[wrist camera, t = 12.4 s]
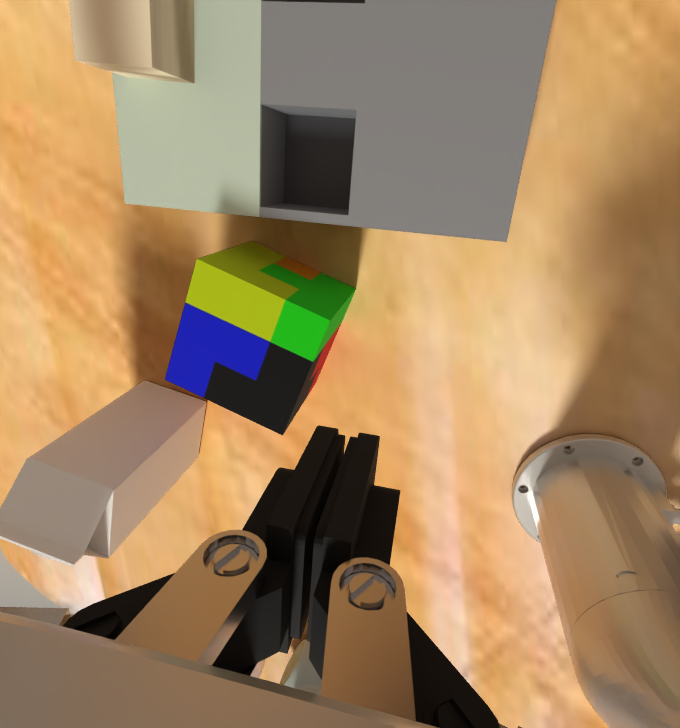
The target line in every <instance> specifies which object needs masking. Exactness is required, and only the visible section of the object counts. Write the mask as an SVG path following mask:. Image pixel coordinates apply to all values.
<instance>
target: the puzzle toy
mask: <svg viewBox="0 0 680 728" xmlns="http://www.w3.org/2000/svg"><path fill="white" fill-rule="evenodd" d="M355 290H356V289H355V288H353V287H351V286H349V285H347V284H345V283H342V282H340V281H338V280H336V279H334V278H331V277H329V276H327V275H325V274H323V273H321V272H318V271H316V270H314V269H312V268H310V267H307V266H305V265H303V264H301V263H299V262H297V261H294V260H292V259H290V258H288V257H286V256H283V255H281V254H279V253H277V252H275V251H273V250H270V249H268V248H266V247H264V246H262V245H259V244H257V243H255V242H253V241H250V242H247V243H244V244H241V245H238V246H235V247H232V248H229V249H226V250H222V251H219V252H216V253H213V254H210V255H207V256H204V257H201V258H198V259H197V260H196V264H195V268H194V271H193V275H192V279H191V283H190V286H189V290H188V294H187V298H186V302H185V305H184V309H183V313H182V317H181V320H180V324H179V328H178V332H177V336H176V339H175V343H174V347H173V351H172V354H171V358H170V362H169V366H168V370H167V373H166V377H165V380H167V381H169V382H171V383H173V384H175V385H177V386H180V387H182V388H184V389H186V390H188V391H190V392H192V393H194V394H196V395H199V396H201V397H203V398H205V399H207V400H209V401H211V402H213V403H215V404H218V405H220V406H222V407H224V408H226V409H228V410H230V411H232V412H234V413H237V414H239V415H241V416H243V417H245V418H247V419H249V420H251V421H253V422H256V423H258V424H260V425H262V426H264V427H266V428H268V429H270V430H272V431H275V432H277V433H279V434H281V435H283V434H284V432H285V431H286V429H287V428H288V426H289V424H290V423H291V421H292V420H293V418H294V416H295V415H296V413H297V412H298V410H299V409H300V407H301V405H302V404H303V402H304V401H305V399H306V397H307V396H308V394H309V393H310V391H311V390H312V388H313V386H314V385H315V383H316V381H317V379H318V376H319V374H320V372H321V369H322V367H323V365H324V362H325V360H326V358H327V355H328V353H329V351H330V348H331V346H332V344H333V341H334V339H335V337H336V334H337V332H338V330H339V327H340V325H341V323H342V320H343V318H344V316H345V313H346V311H347V309H348V306H349V304H350V302H351V299H352V297H353V295H354V292H355Z"/></svg>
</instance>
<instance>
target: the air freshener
mask: <svg viewBox="0 0 680 728" xmlns="http://www.w3.org/2000/svg"><path fill="white" fill-rule="evenodd" d="M309 650H310V642H308V641H307V639H305V640H303V641H302V642H301V643H300V644H299V645H298V647H297V648H296V650H295V652H294V653H293V655H292V657H291V659H290V660H289V662H288V665H287V667H286V669H285V671H284V673H283V676H282V679H281V682H280V684H281V685H285V686H289V687H292V688H296V689H300V690H303V691H307V692H311V693H314V694H318V695H321V686H322V680H321V678H320V677H319V675H318V673H317V672H316V670H315V668H314V667H313V665H312V663H311V662H310V660H309Z"/></svg>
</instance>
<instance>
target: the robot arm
mask: <svg viewBox="0 0 680 728" xmlns="http://www.w3.org/2000/svg"><path fill="white" fill-rule="evenodd" d="M379 439H380V436H377V435H371V434H365V433H359V435H358V438H356V437H350V439H349V442H348V445H347V447H346V450H345V453H344V445H345V435H339V434H338V429H336V428H330V427H324V426H317V427H316V429H315V431H314V433H313V435H312V437H311V439H310V441H309V443H308V445H307V447H306V449H305V451H304V453H303V454H302V456H301V458H300V460H299V462H298V464H297V466H296V468H295V470H291V469H285V468H278V470H277V471H276V472H275V474H274V476H273V478H272V479H271V481H270V483H269V484H268V486H267V488H266V490H265V491H264V493H263V495H262V497H261V498H260V500H259V502H258V503H257V505H256V507H255V509H254V510H253V512H252V514H251V516H250V517H249V519H248V521H247V522H246V524H245V526H244V528H243V529H242V530H228V531H224V532H220V533H217V534H215V535H213V536H211V537H209V538H208V539H207V540H206V541H205V542H203V543H202V544H201V545H200V546H199V548H198V549H197V550H196V551H195V552H194V553H193V554H192V555H191V556H190V557H189V559H188V560H187V561H186V562H185V563H184V564H183V565H182V566H181V567H180V569H179V570H178V571H177V572H176V573H173V574H171V575H168V576H166V577H163V578H160V579H158V580H155V581H152V582H150V583H147V584H144V585H142V586H139V587H137V588H134V589H131V590H129V591H126V592H123V593H121V594H118V595H115V596H113V597H110V598H107V599H105V600H102V601H100V602H97V603H94V604H92V605H90V606H88V607H86V608H84V609H82V610H80V611H78V612H77V613H76V614H74V615H70V612H69V608H27V607H26V608H25V607H0V728H507V727H505V726H503V725H501V724H499V723H498V720H497V718H496V717H495V715H494V714H493V712H492V711H491V710H490V708H489V707H488V705H487V704H486V703H485V702H484V701H483V699H482V698H481V697H480V696H479V695H478V694H477V693H476V691H475V690H474V689H473V688H472V687H471V686H470V684H469V683H468V682H467V681H466V680H465V679H464V677H463V676H462V675H461V674H460V673H459V672H458V670H457V669H456V668H455V667H454V666H453V665H452V664H451V662H450V661H449V660H448V659H447V658H446V657H445V655H444V654H443V653H442V652H441V651H440V650H439V648H438V647H437V646H436V645H435V644H434V643H433V641H432V640H431V639H430V638H429V637H428V636H427V635H426V633H425V632H424V631H423V630H422V629H421V628H420V626H419V625H418V624H417V623H416V622H415V621H414V619H413V618H412V617H411V616H410V615H409V614H408V612H407V611H406V599H405V589H404V585H403V581H402V579H401V577H400V576H399V574H398V573H397V571H395V570H394V569H393V568H392V567H391V566H389V565H390V558H391V551H392V544H393V537H394V531H395V524H396V517H397V510H398V503H399V496H400V490H396V489H391V488H385V487H380V486H375V485H374V480H375V472H376V464H377V456H378V448H379ZM566 446H568V447H566ZM512 501H513V507H514V510H515V514H516V517H517V519H518V520H519V522H520V524H521V526H522V527H523V528H524V529H525V531H526V532H527V533H528V534H529V535H530V536H531V537H532V538H534V539H535V540H536V541H537V542H539V543H541V546H542V550H543V554H544V558H545V561H546V565H547V569H548V573H549V577H550V581H551V584H552V588H553V592H554V596H555V600H556V604H557V607H558V611H559V615H560V619H561V623H562V627H563V630H564V634H565V638H566V642H567V646H568V649H569V653H570V656H571V660H572V664H573V667H574V671H575V674H576V677H577V680H578V683H579V685H580V687H581V689H582V691H583V693H584V695H585V697H586V698H587V700H588V701H589V703H590V704H591V706H592V707H593V709H594V710H595V712H596V713H597V714H598V715H599V717H600V718H601V719H602V720H603V721H604V722H605V723H606V724H607V725H608V726H609V727H610V728H680V532H679V531H675V529H674V528H673V526H672V525H673V524H674V523H675V524H680V509H677V508H675V507H674V506H673V505H672V504H670V503H669V501H668V500H667V487H666V484H665V481H664V477H663V476H662V474H661V472H660V471H659V469H658V467H657V466H656V465H655V463H654V462H653V461H652V460H651V458H650V457H649V456H648V455H647V454H645V453H644V452H643V451H642V450H641V449H639V448H638V447H636V446H634V445H632V444H631V443H629V442H627V441H624V440H621V439H618V438H615V437H612V436H606V435H600V434H579V435H572V436H567V437H563V438H560V439H557V440H554V441H552V442H550V443H548V444H546V445H544V446H542V447H540V448H539V449H537V450H536V451H535V452H533V453H532V454H531V455H530V456H529V457H528V458H527V459H526V460H525V461H524V462H523V463H522V464H521V466H520V468H519V469H518V471H517V473H516V475H515V478H514V481H513V484H512ZM308 615H309V619H308V634H307V641H308V642H310V650H309V660H310V662H311V663H312V665H313V667H314V668H315V670H316V672H317V673H318V675H319V677H320V678H321V680H322V686H321V695H318V694H314V693H311V692H307V691H303V690H300V689H296V688H292V687H289V686H285V685H281V684H277V683H274V682H270V681H266V680H263V679H259V677H260V675H261V673H262V670H263V667H264V663H265V659H266V658H268V657H270V656H272V655H274V654H275V653H277V652H283V653H288V650H289V647H290V644H291V641H292V638H296V639H301V637H302V634H303V631H304V628H305V625H306V622H307V618H308ZM518 728H522V727H520V726H518Z"/></svg>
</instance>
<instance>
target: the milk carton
mask: <svg viewBox="0 0 680 728" xmlns="http://www.w3.org/2000/svg"><path fill="white" fill-rule="evenodd" d="M206 404H207V403H206V401H203V400H201V399H198V398H195V397H192V396H189V395H186V394H183V393H180V392H177V391H174V390H172V389H169V388H166V387H163V386H160V385H157V384H154V383H151V382H148V381H143V382H141V383H140V384H138V385H137V386H135V387H134V388H132V389H131V390H129V391H128V392H126V393H125V394H123V395H122V396H120V397H119V398H117V399H116V400H114V401H113V402H111V403H110V404H108V405H107V406H105V407H104V408H102V409H101V410H99V411H98V412H96V413H95V414H93V415H92V416H90V417H89V418H87V419H86V420H84V421H83V422H82V423H80V424H79V425H77V426H76V427H74V428H73V429H71V430H70V431H68V432H67V433H65V434H64V435H62V436H61V437H59V438H58V439H56V440H55V441H53V442H52V443H50V444H49V445H47V446H46V447H44V448H43V449H41V450H40V451H38V452H37V453H35V454H34V455H32V456H31V457H29V458H27V460H26V462H25V463H24V465H23V467H22V469H21V471H20V473H19V475H18V476H17V478H16V480H15V482H14V484H13V486H12V488H11V489H10V491H9V493H8V495H7V497H6V499H5V501H4V503H3V504H2V506H1V508H0V538H1V539H3V540H6V541H8V542H11V543H14V544H16V545H19V546H21V547H24V548H26V549H29V550H31V551H32V552H33V553H35V554H37V555H39V556H42V557H45V558H48V559H51V560H55V561H60V562H62V563H65V564H68V565H70V566H73V565H74V564H75V563H76V562H77V561H78V560H79V559H80V558H81V557H82V556H83V555H88V556H95V557H102V558H109V557H110V556H111V555H112V554H113V553H114V551H115V550H116V549H117V548H118V547H119V546H120V545H121V544H122V543H123V541H124V540H125V539H126V538H127V537H128V536H129V535H130V533H131V532H132V531H133V530H134V529H135V528H136V527H137V526H138V524H139V523H140V522H141V521H142V520H143V519H144V518H145V517H146V515H147V514H148V513H149V512H150V511H151V510H152V509H153V508H154V506H155V505H156V504H157V503H158V502H159V501H160V500H161V499H162V497H163V496H164V495H165V494H166V493H167V492H168V491H169V490H170V488H171V487H172V486H173V485H174V484H175V483H176V482H177V481H178V479H179V478H180V477H181V476H182V475H183V474H184V473H185V472H186V470H187V469H188V468H189V467H190V466H191V465H192V464H193V462H194V461H195V460H196V459H197V458H198V454H199V448H200V442H201V436H202V429H203V423H204V417H205V410H206Z"/></svg>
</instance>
